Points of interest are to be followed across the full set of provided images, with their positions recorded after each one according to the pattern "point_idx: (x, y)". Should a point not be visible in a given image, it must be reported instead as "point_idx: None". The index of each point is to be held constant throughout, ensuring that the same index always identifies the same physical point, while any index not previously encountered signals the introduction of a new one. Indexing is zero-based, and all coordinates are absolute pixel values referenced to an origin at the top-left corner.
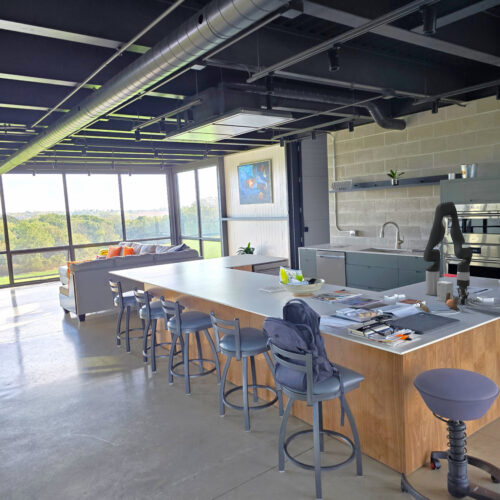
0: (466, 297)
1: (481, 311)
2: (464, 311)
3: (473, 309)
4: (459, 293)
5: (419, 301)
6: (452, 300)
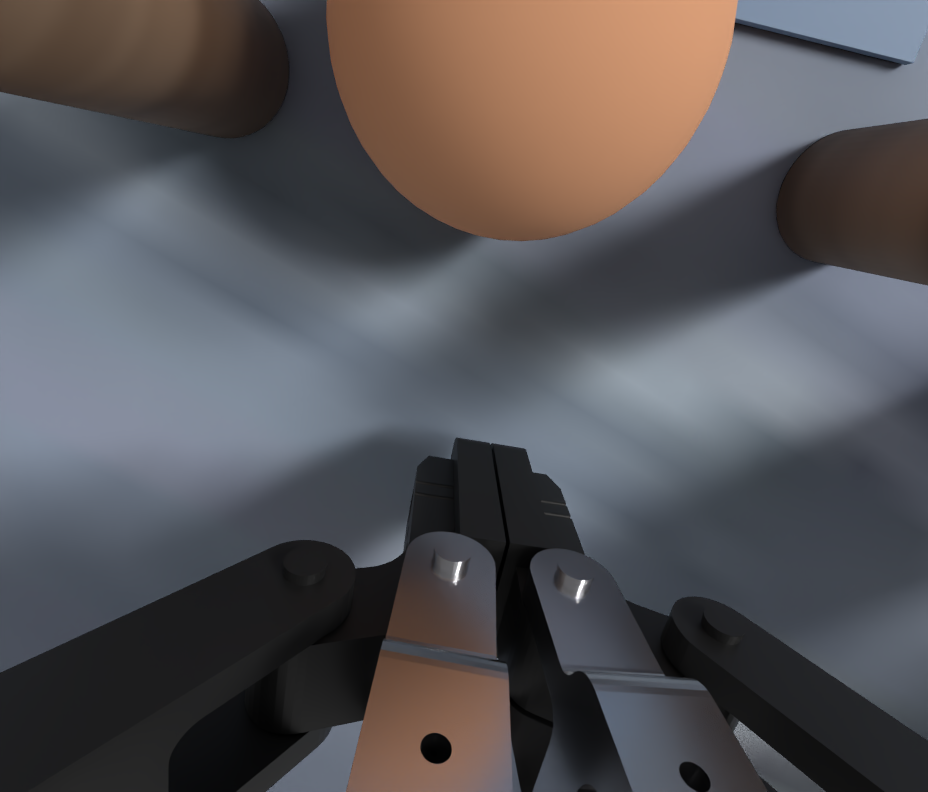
0: (183, 735)
1: (19, 611)
2: (16, 244)
3: (209, 552)
4: (709, 764)
5: None
6: (423, 14)
